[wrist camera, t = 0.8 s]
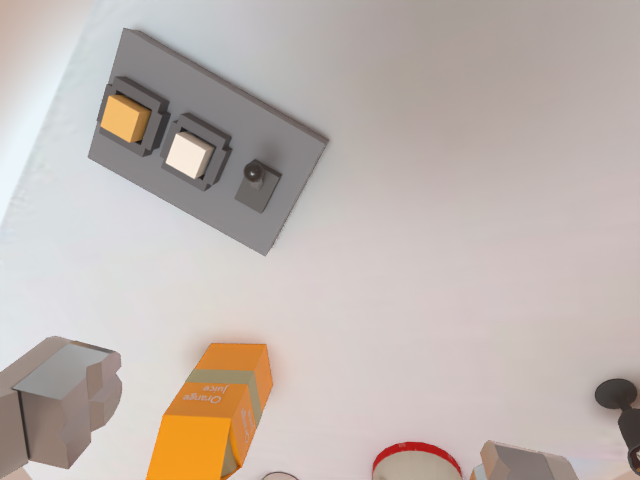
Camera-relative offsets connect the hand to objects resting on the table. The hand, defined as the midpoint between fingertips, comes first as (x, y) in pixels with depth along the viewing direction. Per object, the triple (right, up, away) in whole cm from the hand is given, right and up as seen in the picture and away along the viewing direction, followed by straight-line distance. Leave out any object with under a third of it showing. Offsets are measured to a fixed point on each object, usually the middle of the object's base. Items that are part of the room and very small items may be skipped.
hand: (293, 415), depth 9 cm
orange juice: (-11, -15, +53) cm, 56 cm away
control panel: (-13, +15, +41) cm, 46 cm away
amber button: (-21, +18, +37) cm, 46 cm away
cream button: (-14, +14, +37) cm, 42 cm away
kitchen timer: (+16, -34, +56) cm, 67 cm away
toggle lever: (-7, +10, +37) cm, 39 cm away
